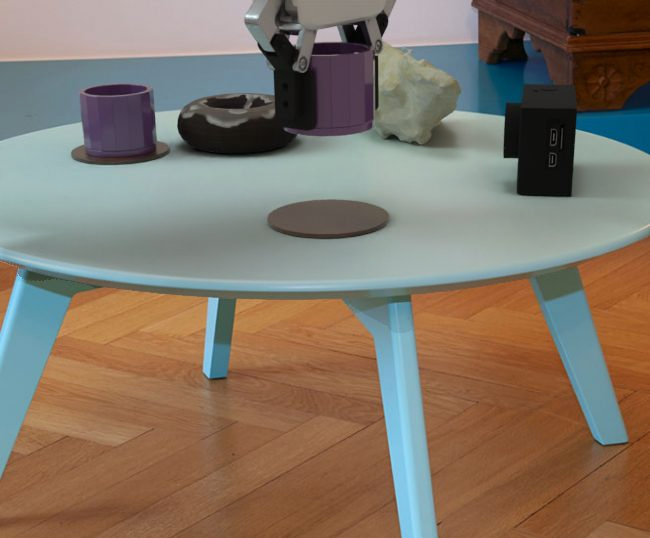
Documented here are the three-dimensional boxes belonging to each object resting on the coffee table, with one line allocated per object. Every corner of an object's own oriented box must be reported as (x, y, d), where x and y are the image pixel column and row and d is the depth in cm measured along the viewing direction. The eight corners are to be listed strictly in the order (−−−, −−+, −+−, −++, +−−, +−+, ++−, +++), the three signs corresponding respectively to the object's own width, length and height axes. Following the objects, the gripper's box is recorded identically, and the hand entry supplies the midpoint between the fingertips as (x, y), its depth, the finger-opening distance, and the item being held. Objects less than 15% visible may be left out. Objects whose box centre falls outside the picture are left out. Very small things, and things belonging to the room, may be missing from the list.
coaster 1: (127, 168, 100) (127, 165, 99) (50, 157, 104) (50, 154, 104) (188, 147, 107) (188, 144, 107) (114, 138, 111) (114, 135, 111)
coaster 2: (352, 245, 78) (352, 241, 78) (244, 227, 83) (243, 223, 83) (409, 212, 86) (409, 208, 86) (307, 197, 90) (307, 194, 90)
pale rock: (320, 95, 114) (366, 38, 114) (397, 162, 116) (443, 106, 116) (348, 87, 97) (403, 20, 96) (438, 166, 99) (493, 100, 98)
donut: (313, 152, 104) (312, 109, 102) (184, 161, 102) (181, 117, 100) (289, 126, 114) (288, 86, 113) (172, 134, 112) (170, 93, 111)
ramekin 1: (126, 160, 101) (120, 98, 99) (69, 153, 104) (63, 93, 102) (171, 145, 106) (167, 86, 104) (116, 138, 109) (111, 81, 107)
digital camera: (506, 162, 99) (509, 82, 96) (569, 164, 98) (574, 83, 96) (501, 194, 90) (504, 106, 87) (571, 196, 89) (577, 107, 86)
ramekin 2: (346, 140, 77) (345, 58, 75) (265, 131, 80) (261, 52, 78) (390, 121, 83) (390, 44, 81) (312, 113, 86) (310, 39, 84)
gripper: (352, -151, 83) (356, 93, 90) (189, -149, 70) (207, 135, 77) (440, -154, 79) (437, 102, 86) (283, -153, 66) (294, 148, 73)
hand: (328, 116), depth 81 cm, fingers closed on ramekin 2, 6 cm apart
